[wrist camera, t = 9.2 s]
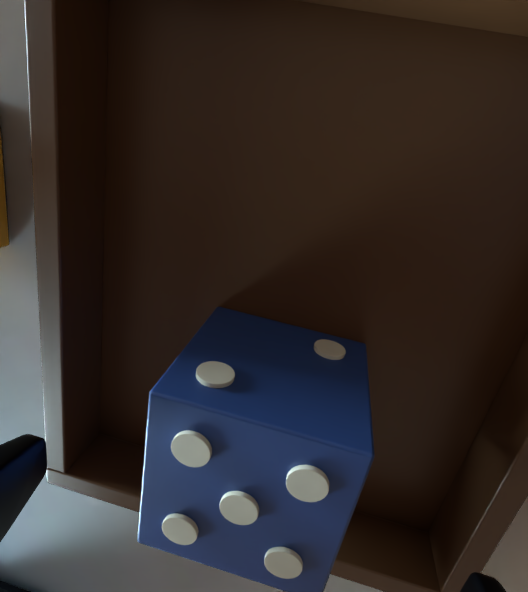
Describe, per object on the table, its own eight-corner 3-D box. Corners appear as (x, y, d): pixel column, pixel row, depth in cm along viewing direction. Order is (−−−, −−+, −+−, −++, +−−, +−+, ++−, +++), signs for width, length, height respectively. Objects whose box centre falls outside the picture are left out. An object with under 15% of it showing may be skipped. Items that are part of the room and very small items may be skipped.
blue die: (328, 460, 13) (318, 610, 9) (199, 422, 14) (133, 547, 10) (367, 339, 11) (378, 456, 7) (217, 301, 12) (145, 390, 8)
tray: (438, 536, 14) (455, 615, 12) (91, 431, 16) (46, 483, 13) (698, 31, 8) (839, -12, 6) (98, -58, 10) (16, -121, 7)
